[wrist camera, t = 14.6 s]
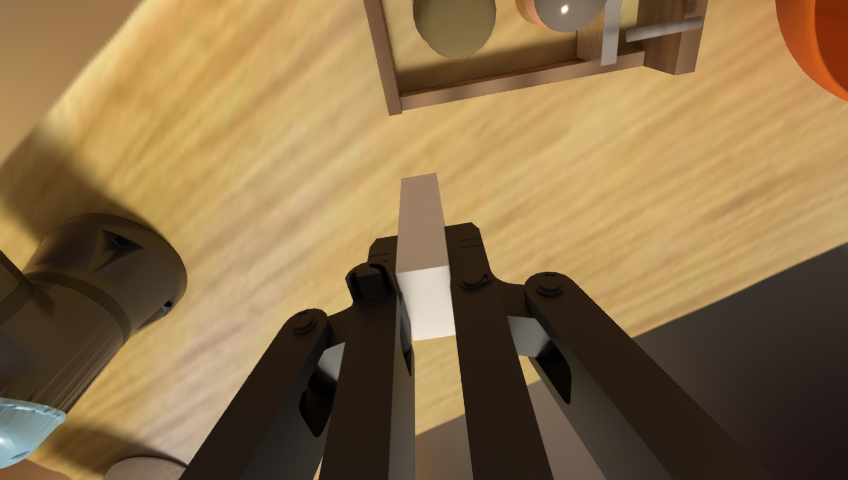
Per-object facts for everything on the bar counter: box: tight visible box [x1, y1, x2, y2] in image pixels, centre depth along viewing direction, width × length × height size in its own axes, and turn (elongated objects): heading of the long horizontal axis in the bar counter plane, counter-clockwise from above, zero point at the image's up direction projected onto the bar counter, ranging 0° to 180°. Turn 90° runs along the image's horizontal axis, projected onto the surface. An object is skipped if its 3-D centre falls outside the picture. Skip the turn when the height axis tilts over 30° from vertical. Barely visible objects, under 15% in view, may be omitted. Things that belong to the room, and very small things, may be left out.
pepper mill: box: [413, 0, 496, 58], centre depth 29 cm, size 6×6×11 cm
